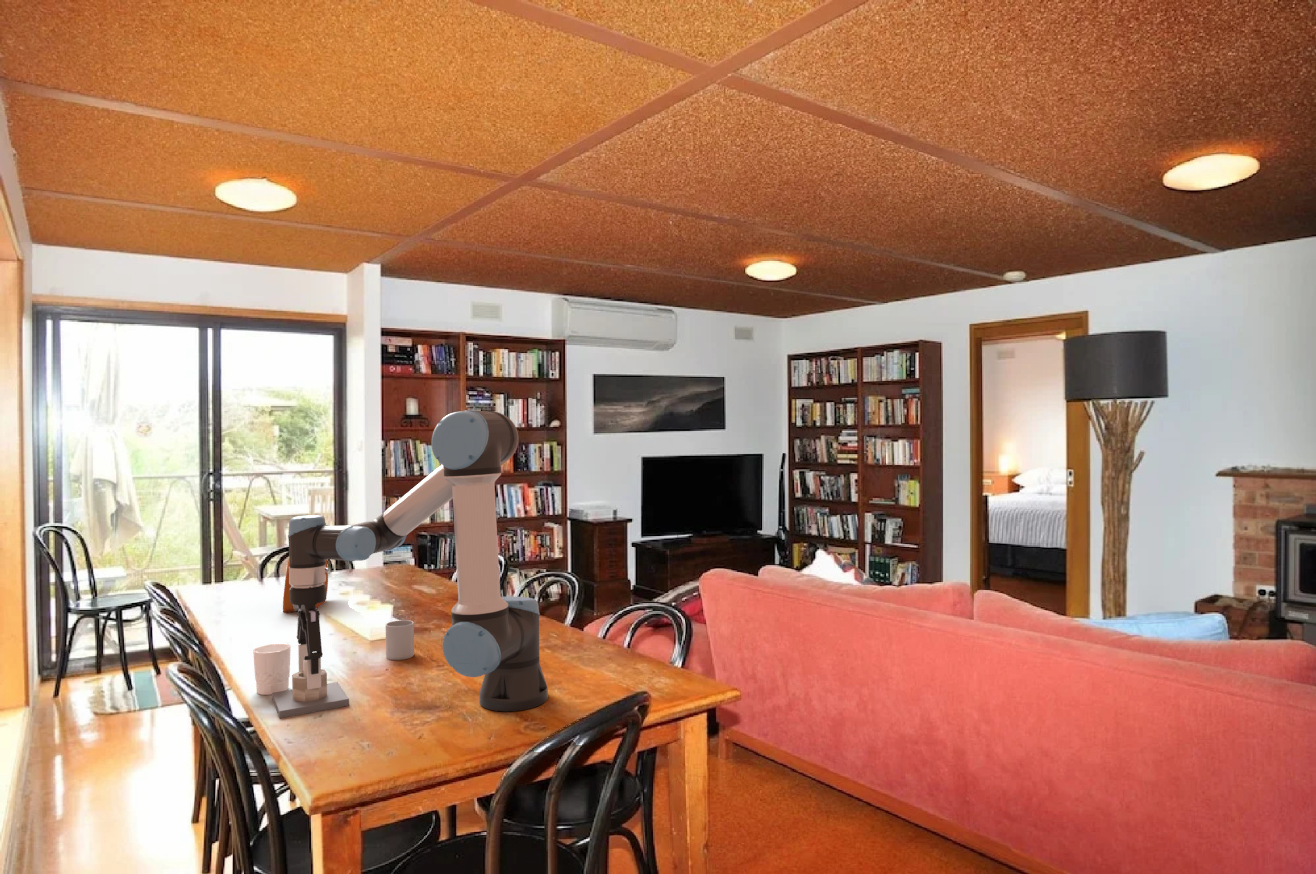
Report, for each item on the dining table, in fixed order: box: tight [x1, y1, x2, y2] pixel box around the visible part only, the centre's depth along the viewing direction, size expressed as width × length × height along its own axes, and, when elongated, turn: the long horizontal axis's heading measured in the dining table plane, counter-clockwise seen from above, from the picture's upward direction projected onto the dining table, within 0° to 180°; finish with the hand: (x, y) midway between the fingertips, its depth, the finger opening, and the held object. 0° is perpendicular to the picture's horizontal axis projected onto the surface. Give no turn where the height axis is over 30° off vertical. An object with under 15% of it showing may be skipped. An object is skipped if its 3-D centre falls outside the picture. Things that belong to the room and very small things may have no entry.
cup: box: [385, 619, 415, 661], centre depth 215 cm, size 7×10×9 cm
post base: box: [271, 660, 350, 719], centre depth 179 cm, size 14×14×10 cm
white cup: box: [252, 643, 291, 696], centre depth 187 cm, size 8×8×10 cm
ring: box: [291, 668, 328, 701], centre depth 178 cm, size 7×7×5 cm
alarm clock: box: [282, 559, 329, 613], centre depth 276 cm, size 22×10×23 cm, turn 6°
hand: (309, 680), depth 179 cm, fingers open, 12 cm apart
